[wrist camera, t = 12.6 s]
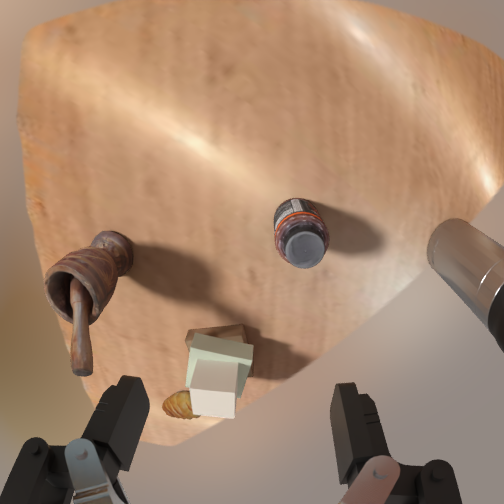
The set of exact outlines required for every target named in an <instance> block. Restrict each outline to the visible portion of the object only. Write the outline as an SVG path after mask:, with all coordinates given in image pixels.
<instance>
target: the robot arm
mask: <svg viewBox="0 0 504 504" xmlns="http://www.w3.org/2000/svg"><path fill="white" fill-rule="evenodd" d="M427 256H428V261H429V264H430V265H431V267H432V268H433V269H434V270H435V271H436V272H437V273H438V274H439V275H440V276H441V278H442V279H443V280H444V281H445V282H446V283H447V284H448V285H449V286H450V287H451V288H452V289H453V290H454V291H455V293H456V294H457V295H458V296H459V297H460V298H461V299H462V300H463V301H464V303H465V304H466V305H467V306H468V307H469V308H470V309H471V310H472V312H473V313H474V314H475V315H476V316H477V317H478V318H479V319H480V321H481V322H482V323H483V324H484V325H485V327H486V328H487V329H488V330H489V331H490V332H491V334H492V335H493V336H494V337H495V339H496V341H497V343H498V345H499V347H500V348H501V350H502V351H503V352H504V247H503V246H502V245H500V244H499V243H497V242H496V241H494V240H493V239H491V238H489V237H488V236H486V235H485V234H484V233H482V232H480V231H479V230H477V229H476V228H474V227H473V226H471V225H470V224H468V223H466V222H465V221H463V220H460V219H449V220H447V221H445V222H443V223H442V224H441V225H439V226H438V227H437V229H436V230H435V231H434V233H433V234H432V236H431V238H430V240H429V244H428V249H427ZM149 409H150V403H149V398H148V396H147V393H146V391H145V388H144V385H143V382H142V380H141V378H140V377H133V376H126V375H123V376H122V377H121V378H120V380H119V382H118V384H117V386H114V385H111V386H110V387H109V388H108V389H107V390H106V391H105V392H104V393H103V395H102V397H101V399H100V401H99V403H98V405H97V407H96V410H95V411H94V413H93V415H92V417H91V419H90V421H89V423H88V425H87V427H86V429H85V431H84V433H83V435H82V437H81V438H80V439H75V440H73V441H71V442H70V443H69V444H68V445H67V446H50V445H48V444H47V443H46V442H45V441H44V440H43V439H42V438H38V437H34V438H31V439H29V440H27V441H26V442H25V443H24V445H23V447H22V449H21V451H20V453H19V455H18V457H17V459H16V462H15V464H14V466H13V468H12V471H11V472H10V475H9V477H8V479H7V482H6V484H5V486H4V489H3V491H2V494H1V496H0V504H70V502H71V499H72V496H73V493H74V490H75V493H76V496H73V502H74V504H131V503H130V501H129V499H128V497H127V495H126V493H125V491H124V489H123V486H122V484H121V482H120V480H119V477H118V473H119V470H124V471H129V468H130V465H131V462H132V459H133V456H134V454H135V451H136V448H137V445H138V442H139V439H140V436H141V433H142V430H143V428H144V425H145V422H146V419H147V416H148V413H149ZM330 420H331V427H332V433H333V439H334V446H335V452H336V459H337V466H338V473H339V481H340V484H348V491H347V492H346V494H345V495H344V496H343V498H342V499H341V501H340V502H339V503H338V504H462V501H461V497H460V493H459V489H458V485H457V482H456V478H455V474H454V471H453V468H452V467H451V465H450V464H449V463H448V462H446V461H443V460H432V461H430V462H428V463H427V464H426V465H425V466H410V465H403V464H400V463H398V462H397V461H396V460H394V459H393V458H392V457H391V455H390V453H389V450H388V447H387V443H386V440H385V436H384V433H383V429H382V426H381V423H380V419H379V416H378V412H377V409H376V406H375V403H374V401H373V400H372V399H371V398H370V397H369V395H368V394H358V391H357V387H356V384H355V383H354V382H352V383H341V384H340V383H339V384H336V385H335V390H334V394H333V398H332V402H331V407H330Z"/></svg>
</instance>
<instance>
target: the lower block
mask: <svg viewBox="0 0 504 504" xmlns="http://www.w3.org/2000/svg"><path fill="white" fill-rule="evenodd" d="M195 333H199V334H204V335H208V336H212V337H217V338H221V339H226V340H231V341H235V342H240V343H246V344H248V342H247V338H246V334H245V330H244V326H243V324H239V325H230V326H221V327H212V328H202V329H191V330H188V333H187V336H186V339H185V342H186V345H187V347H188V350H189V352H190V347H191V344H192V341H193V338H194V334H195ZM253 366H254V365H253V361H252V364H251V367H250V370H249V373H248V376H247V377H253Z"/></svg>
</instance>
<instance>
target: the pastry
mask: <svg viewBox="0 0 504 504" xmlns="http://www.w3.org/2000/svg"><path fill="white" fill-rule="evenodd" d="M162 408H163V410H164V411H165V412H166V414H167V415H169V416H171V417H177V418H182V419H186V418H187V419H192V418H198V417H200V416H201V415H195V414H193V411H192V404H191V397H190V392H189V391H181V392H177V393H175V394H173V395H172V396H170V397H168V398H167V399H166V400H165V401H164V403H163V405H162Z"/></svg>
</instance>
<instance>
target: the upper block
mask: <svg viewBox="0 0 504 504" xmlns="http://www.w3.org/2000/svg"><path fill="white" fill-rule="evenodd" d="M197 359H204V360H215V361H226V362H238V391H237V398H241V395H242V392H243V389H244V386H245V382H246V379H247V376H248V373H249V370H250V367H251V364H252V360H253V345H251V344H246V343H240V342H235V341H231V340H226V339H221V338H217V337H212V336H208V335H204V334H199V333H195V334H194V338H193V341H192V344H191V347H190V354H189V362H188V370H187V378H186V386H185V387H189V388H190V384H191V380H192V376H193V373H194V369H195V365H196V362H197Z"/></svg>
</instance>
